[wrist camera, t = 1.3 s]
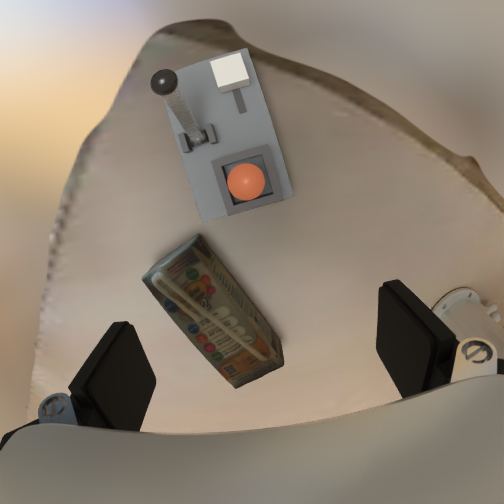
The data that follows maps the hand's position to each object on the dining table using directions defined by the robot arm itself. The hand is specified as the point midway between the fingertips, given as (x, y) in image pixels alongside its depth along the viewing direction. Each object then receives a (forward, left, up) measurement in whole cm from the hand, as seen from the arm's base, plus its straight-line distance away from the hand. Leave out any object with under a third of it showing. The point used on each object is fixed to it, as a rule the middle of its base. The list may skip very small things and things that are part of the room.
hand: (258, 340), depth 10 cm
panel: (+1, -10, -25) cm, 27 cm away
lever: (+3, -10, -20) cm, 23 cm away
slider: (-2, -16, -21) cm, 27 cm away
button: (0, -5, -19) cm, 20 cm away
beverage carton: (+8, +10, -26) cm, 29 cm away
